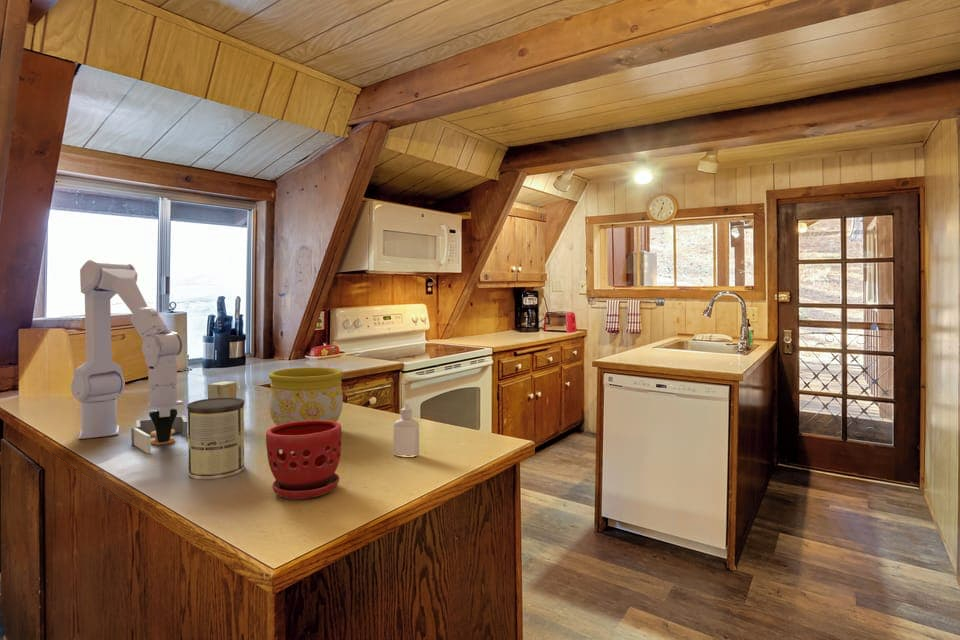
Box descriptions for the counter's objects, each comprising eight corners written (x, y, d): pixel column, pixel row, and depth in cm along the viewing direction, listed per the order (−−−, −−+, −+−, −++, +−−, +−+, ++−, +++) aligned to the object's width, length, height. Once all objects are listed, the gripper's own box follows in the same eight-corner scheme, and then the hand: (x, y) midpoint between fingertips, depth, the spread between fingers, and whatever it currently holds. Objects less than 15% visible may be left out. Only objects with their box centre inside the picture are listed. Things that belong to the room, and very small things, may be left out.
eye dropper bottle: (407, 460, 113) (407, 406, 112) (390, 455, 116) (390, 402, 116) (421, 456, 116) (422, 403, 115) (405, 451, 120) (405, 399, 119)
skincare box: (221, 431, 135) (221, 385, 134) (206, 430, 136) (206, 384, 135) (237, 425, 141) (237, 381, 141) (223, 424, 142) (223, 380, 141)
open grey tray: (136, 436, 129) (136, 420, 129) (184, 430, 135) (184, 415, 135) (136, 443, 123) (136, 427, 123) (187, 437, 129) (187, 421, 128)
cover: (136, 443, 123) (136, 427, 122) (152, 453, 116) (151, 435, 115) (130, 444, 122) (130, 428, 122) (146, 454, 115) (145, 436, 115)
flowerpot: (283, 449, 120) (283, 379, 119) (259, 433, 133) (259, 370, 133) (354, 437, 131) (355, 373, 130) (326, 423, 145) (326, 365, 144)
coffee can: (179, 471, 104) (178, 402, 103) (230, 459, 112) (230, 395, 111) (201, 484, 97) (200, 410, 97) (254, 470, 105) (253, 401, 105)
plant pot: (348, 478, 101) (348, 417, 101) (331, 504, 88) (331, 435, 88) (281, 477, 101) (281, 417, 100) (254, 504, 88) (253, 435, 87)
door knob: (150, 440, 125) (150, 430, 125) (174, 438, 128) (174, 428, 128) (151, 445, 121) (150, 435, 121) (175, 442, 124) (175, 432, 124)
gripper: (185, 387, 117) (185, 446, 118) (180, 378, 129) (180, 432, 130) (148, 390, 113) (149, 451, 114) (146, 380, 125) (147, 436, 126)
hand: (163, 441), depth 121 cm, fingers closed
